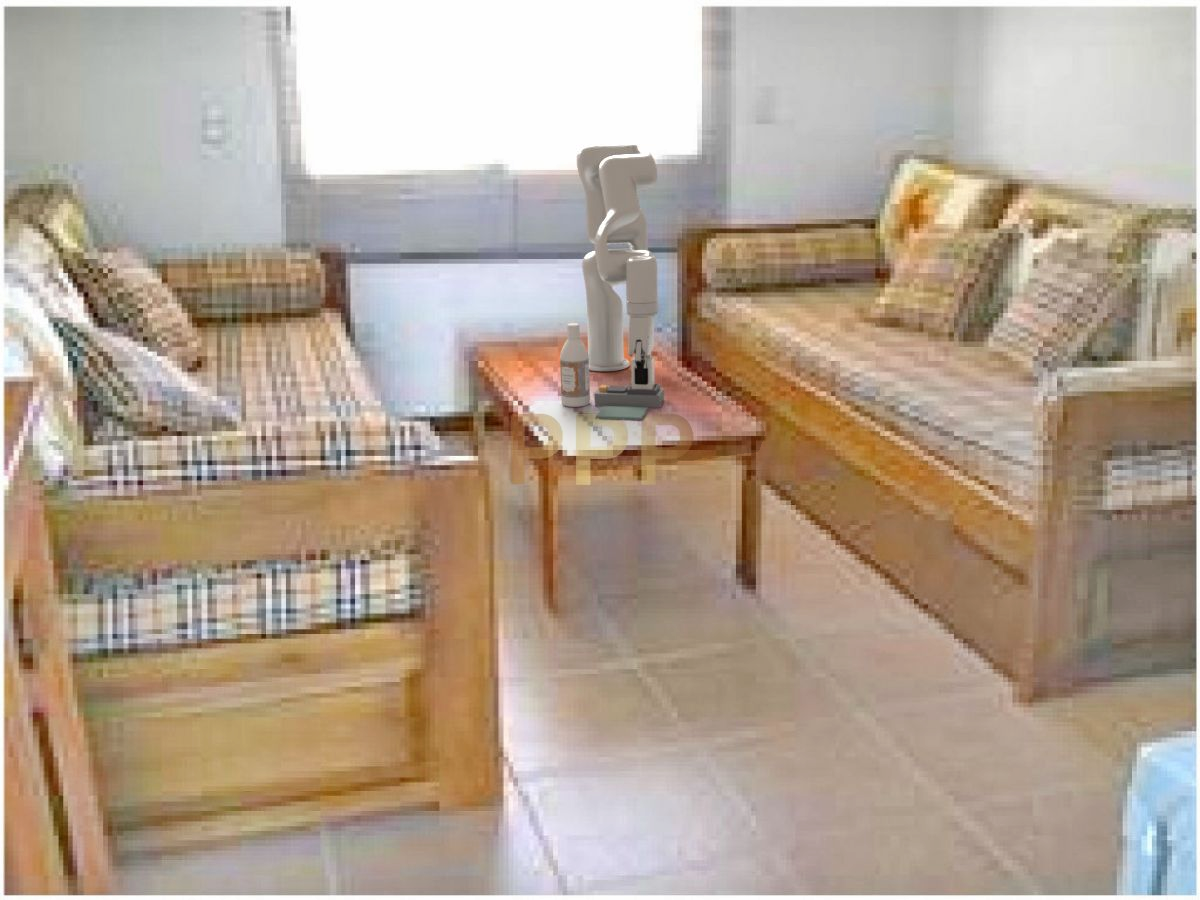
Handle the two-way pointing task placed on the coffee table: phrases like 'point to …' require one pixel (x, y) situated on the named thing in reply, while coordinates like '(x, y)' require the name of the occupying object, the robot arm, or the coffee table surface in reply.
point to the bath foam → (574, 370)
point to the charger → (650, 374)
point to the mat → (622, 412)
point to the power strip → (629, 396)
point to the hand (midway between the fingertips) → (643, 380)
